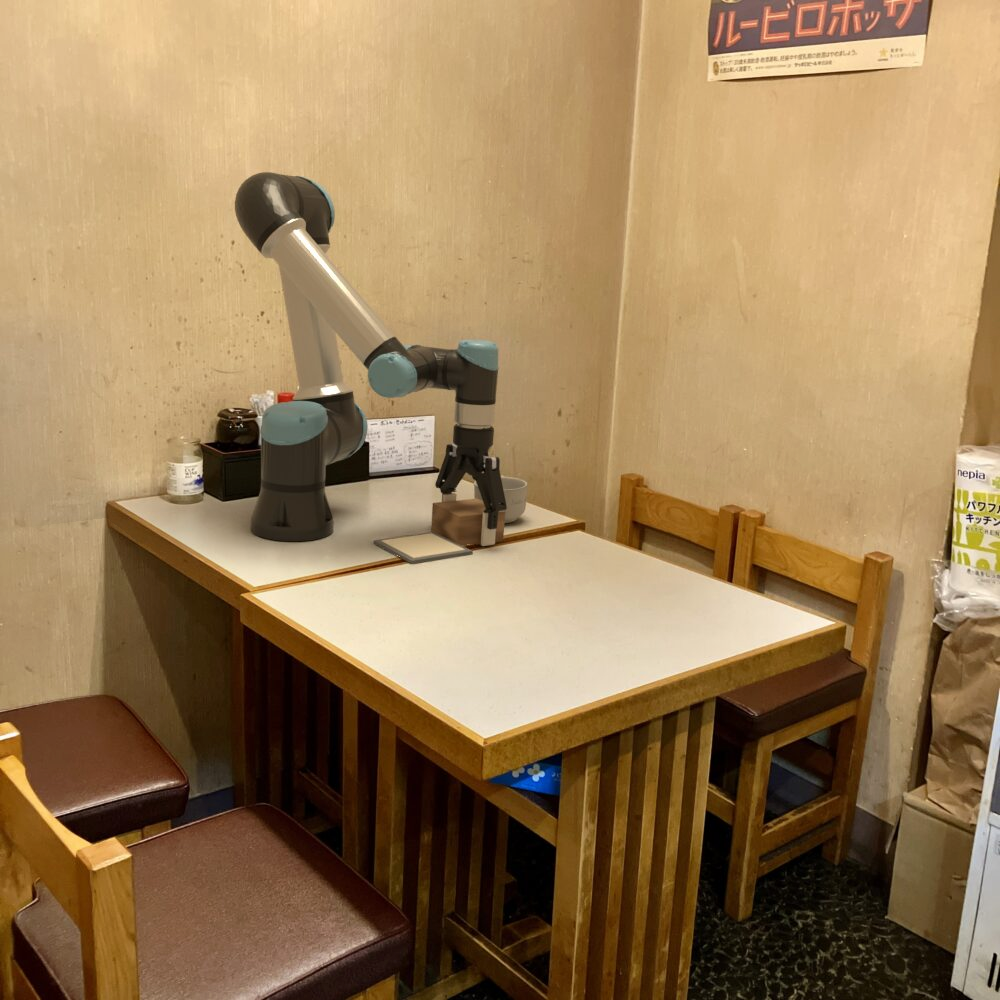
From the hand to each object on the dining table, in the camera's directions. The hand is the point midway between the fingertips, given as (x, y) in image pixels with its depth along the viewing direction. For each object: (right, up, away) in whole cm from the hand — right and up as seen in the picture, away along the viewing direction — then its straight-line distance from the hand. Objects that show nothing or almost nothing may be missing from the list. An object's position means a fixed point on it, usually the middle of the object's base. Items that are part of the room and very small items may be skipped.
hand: (467, 535), depth 190 cm
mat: (-8, -2, -9) cm, 12 cm away
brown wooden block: (0, 0, 0) cm, 0 cm away
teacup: (+6, +3, +15) cm, 16 cm away
